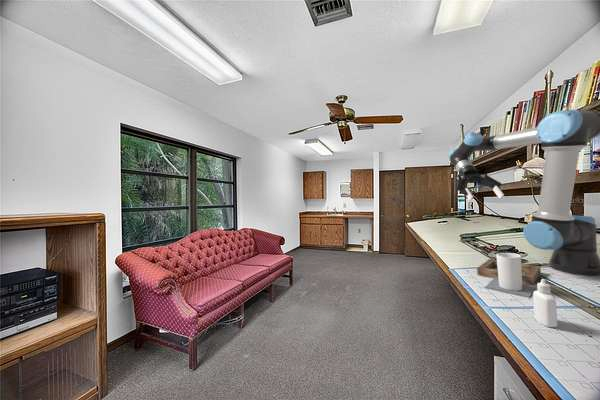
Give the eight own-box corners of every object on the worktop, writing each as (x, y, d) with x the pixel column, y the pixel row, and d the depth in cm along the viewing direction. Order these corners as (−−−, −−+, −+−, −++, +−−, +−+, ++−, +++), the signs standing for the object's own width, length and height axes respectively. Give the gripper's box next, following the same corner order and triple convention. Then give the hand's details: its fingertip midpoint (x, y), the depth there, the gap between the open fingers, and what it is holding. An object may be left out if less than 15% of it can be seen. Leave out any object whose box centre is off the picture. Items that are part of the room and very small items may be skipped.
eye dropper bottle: (556, 320, 65) (554, 278, 64) (557, 329, 61) (555, 284, 60) (534, 315, 68) (532, 274, 67) (533, 324, 64) (531, 280, 64)
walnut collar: (540, 273, 97) (540, 266, 97) (532, 285, 87) (532, 277, 86) (489, 265, 110) (489, 259, 110) (477, 274, 100) (477, 268, 100)
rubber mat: (536, 287, 85) (535, 286, 85) (529, 297, 78) (529, 296, 78) (494, 279, 95) (494, 278, 95) (485, 287, 88) (484, 286, 88)
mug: (521, 293, 81) (519, 258, 80) (496, 287, 86) (494, 255, 86) (526, 284, 87) (524, 252, 87) (502, 280, 92) (500, 250, 92)
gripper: (488, 173, 128) (511, 201, 113) (440, 177, 131) (456, 205, 116) (494, 162, 123) (519, 190, 108) (444, 166, 126) (461, 194, 111)
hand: (486, 198), depth 112 cm, fingers open, 13 cm apart
